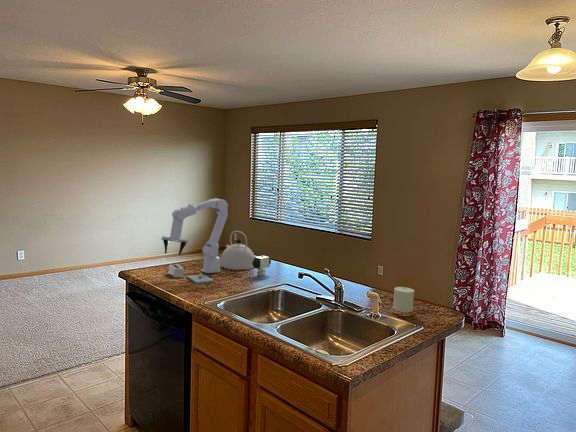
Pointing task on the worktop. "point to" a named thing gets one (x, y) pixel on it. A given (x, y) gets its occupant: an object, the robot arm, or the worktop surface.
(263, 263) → the pneumatic valve
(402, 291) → the can
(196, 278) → the board
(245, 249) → the kettle
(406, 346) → the worktop surface
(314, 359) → the worktop surface
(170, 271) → the block
